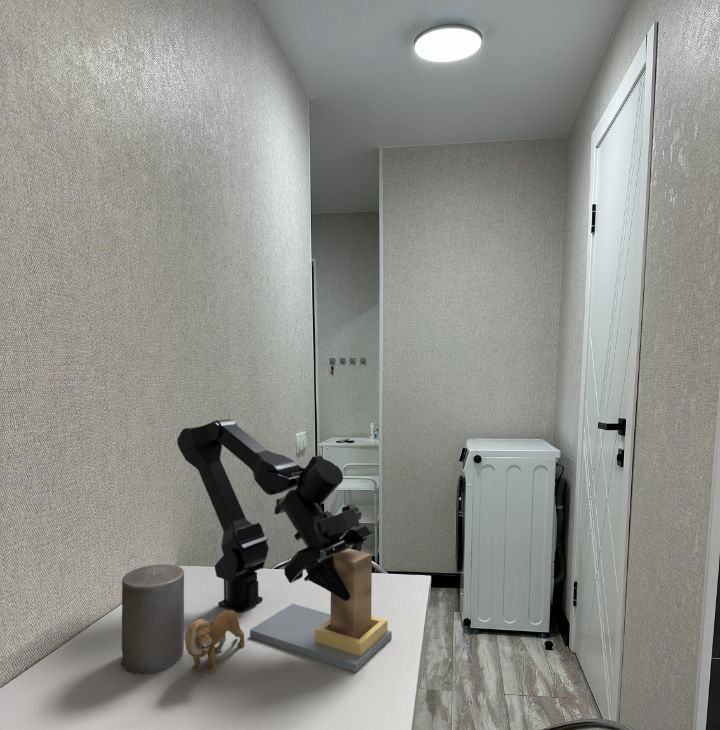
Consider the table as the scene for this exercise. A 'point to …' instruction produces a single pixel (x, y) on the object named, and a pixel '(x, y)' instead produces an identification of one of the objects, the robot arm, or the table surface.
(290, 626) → the base board
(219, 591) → the table surface
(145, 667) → the pillar candle
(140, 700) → the table surface
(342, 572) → the walnut column
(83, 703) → the table surface
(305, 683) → the table surface
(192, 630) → the lion figurine
